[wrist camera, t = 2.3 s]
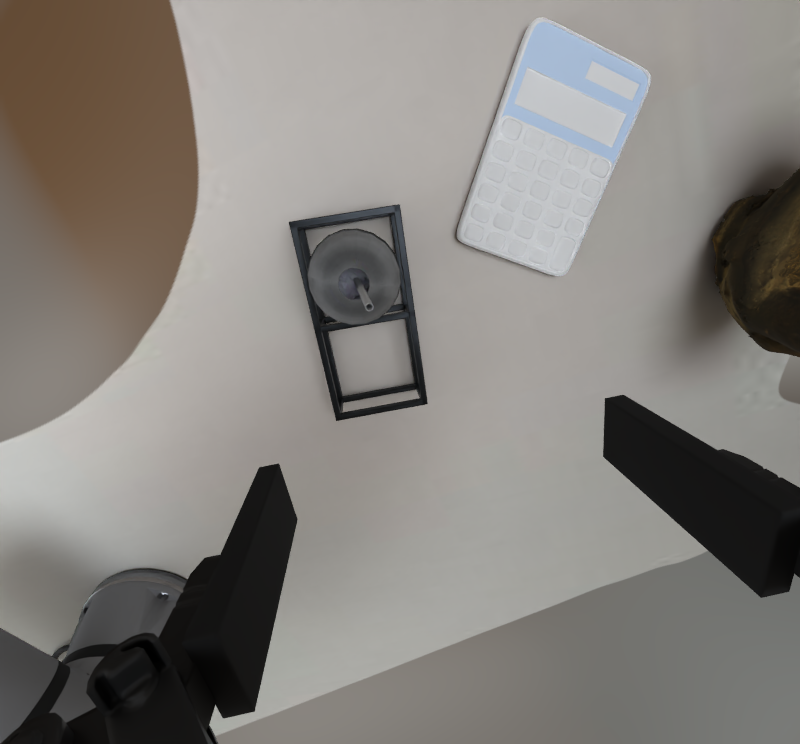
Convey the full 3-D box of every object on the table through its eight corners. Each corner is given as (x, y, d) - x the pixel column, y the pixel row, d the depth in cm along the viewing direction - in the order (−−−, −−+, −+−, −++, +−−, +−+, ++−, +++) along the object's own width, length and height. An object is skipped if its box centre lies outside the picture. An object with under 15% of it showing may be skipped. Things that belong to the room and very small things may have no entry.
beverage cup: (351, 216, 38) (343, 191, 19) (404, 265, 40) (443, 287, 21) (307, 271, 39) (259, 299, 20) (360, 316, 41) (361, 378, 23)
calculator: (451, 240, 40) (455, 240, 38) (527, 19, 34) (536, 7, 32) (558, 278, 42) (567, 280, 40) (646, 79, 37) (661, 71, 35)
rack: (338, 401, 44) (336, 421, 40) (297, 224, 38) (288, 221, 33) (420, 386, 45) (427, 404, 40) (394, 208, 38) (399, 204, 33)
